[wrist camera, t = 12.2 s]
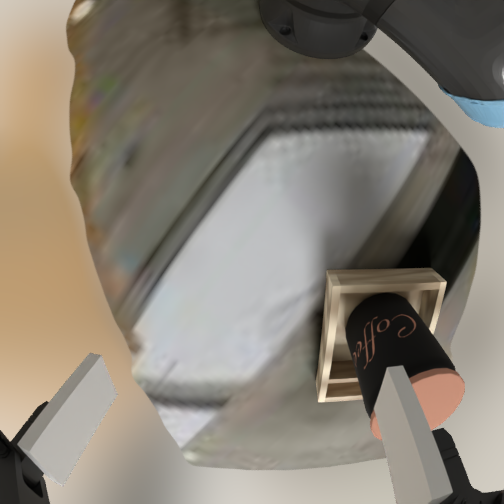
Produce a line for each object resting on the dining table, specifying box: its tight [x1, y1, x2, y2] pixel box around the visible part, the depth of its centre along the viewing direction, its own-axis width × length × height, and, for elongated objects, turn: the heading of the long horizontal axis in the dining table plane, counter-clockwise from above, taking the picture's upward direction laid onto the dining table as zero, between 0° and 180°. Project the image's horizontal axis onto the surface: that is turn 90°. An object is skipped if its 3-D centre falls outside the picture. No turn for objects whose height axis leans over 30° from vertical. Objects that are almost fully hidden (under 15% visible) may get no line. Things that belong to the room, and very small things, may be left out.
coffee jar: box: [345, 292, 465, 440], centre depth 30 cm, size 11×11×18 cm
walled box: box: [316, 268, 447, 402], centre depth 37 cm, size 20×16×5 cm
